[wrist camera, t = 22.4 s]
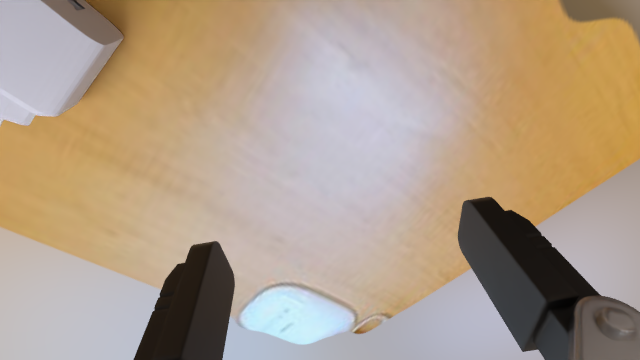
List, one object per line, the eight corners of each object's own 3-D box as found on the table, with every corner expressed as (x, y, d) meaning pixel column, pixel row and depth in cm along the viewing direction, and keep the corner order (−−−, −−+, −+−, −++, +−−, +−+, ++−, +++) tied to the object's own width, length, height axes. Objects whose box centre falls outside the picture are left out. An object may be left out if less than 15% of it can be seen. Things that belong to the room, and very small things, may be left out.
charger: (-51, 76, 29) (13, -60, 24) (54, 139, 33) (128, 36, 28) (-106, 93, 25) (-43, -66, 20) (22, 162, 29) (101, 46, 24)
